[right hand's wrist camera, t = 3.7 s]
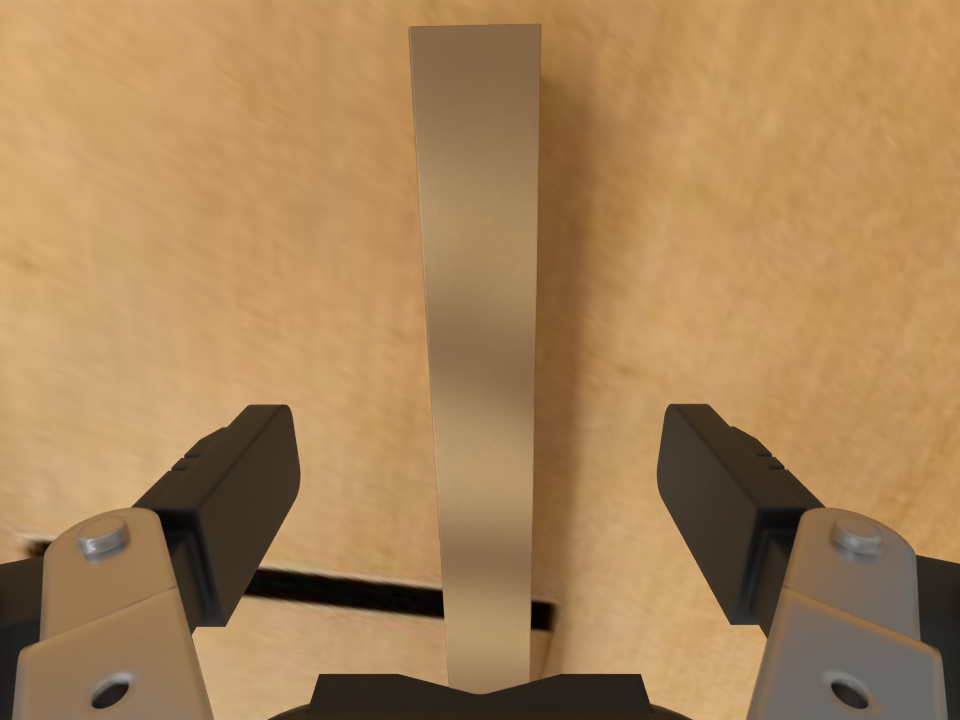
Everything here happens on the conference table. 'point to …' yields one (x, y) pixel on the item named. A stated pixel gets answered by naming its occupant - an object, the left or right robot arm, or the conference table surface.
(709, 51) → the conference table surface
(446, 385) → the beam
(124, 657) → the right robot arm
